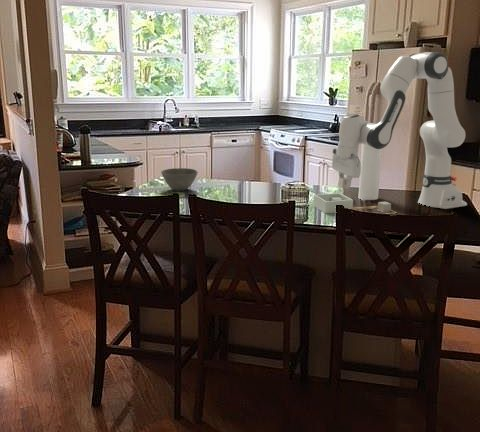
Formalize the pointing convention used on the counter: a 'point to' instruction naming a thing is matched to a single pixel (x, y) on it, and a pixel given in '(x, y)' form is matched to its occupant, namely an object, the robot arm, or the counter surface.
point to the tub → (331, 202)
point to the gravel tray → (372, 208)
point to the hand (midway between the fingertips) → (344, 183)
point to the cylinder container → (369, 173)
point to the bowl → (179, 178)
